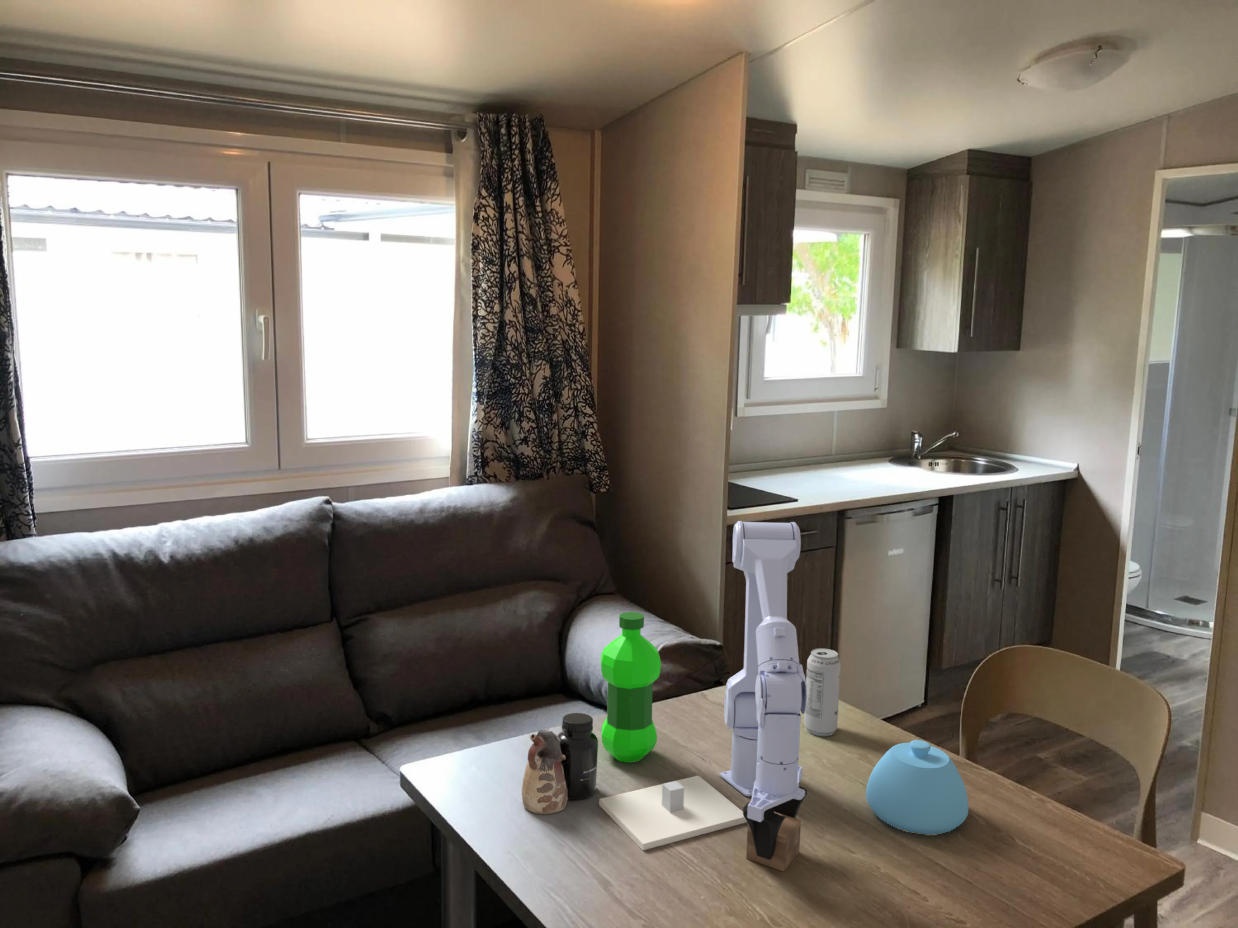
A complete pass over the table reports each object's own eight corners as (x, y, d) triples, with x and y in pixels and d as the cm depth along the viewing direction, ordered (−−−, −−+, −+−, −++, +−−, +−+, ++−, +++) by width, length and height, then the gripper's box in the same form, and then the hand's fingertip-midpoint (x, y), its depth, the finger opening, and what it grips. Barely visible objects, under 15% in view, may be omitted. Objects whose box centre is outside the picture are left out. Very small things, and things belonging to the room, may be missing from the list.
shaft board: (698, 781, 153) (698, 755, 152) (747, 821, 141) (748, 793, 140) (599, 804, 145) (599, 777, 144) (642, 850, 132) (643, 820, 132)
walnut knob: (762, 840, 136) (764, 806, 135) (799, 852, 133) (801, 817, 132) (746, 858, 131) (747, 823, 130) (783, 871, 128) (785, 835, 127)
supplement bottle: (593, 802, 145) (596, 728, 144) (550, 798, 146) (552, 725, 144) (598, 782, 152) (601, 711, 151) (556, 778, 153) (559, 708, 151)
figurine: (577, 804, 144) (577, 731, 142) (538, 819, 140) (538, 744, 138) (551, 786, 150) (550, 715, 148) (513, 800, 146) (512, 727, 144)
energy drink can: (842, 736, 171) (847, 657, 169) (811, 738, 170) (816, 659, 167) (828, 722, 177) (832, 646, 175) (798, 724, 176) (802, 648, 173)
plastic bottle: (655, 741, 167) (658, 606, 163) (659, 769, 157) (663, 625, 153) (599, 741, 167) (601, 606, 163) (599, 769, 156) (602, 625, 153)
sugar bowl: (983, 814, 145) (989, 743, 143) (941, 852, 134) (947, 776, 132) (893, 780, 155) (897, 714, 153) (847, 813, 144) (851, 742, 142)
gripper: (784, 783, 121) (779, 880, 123) (824, 743, 134) (819, 832, 136) (734, 769, 125) (731, 863, 127) (778, 731, 137) (773, 817, 139)
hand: (773, 846), depth 132 cm, fingers closed on walnut knob, 6 cm apart
